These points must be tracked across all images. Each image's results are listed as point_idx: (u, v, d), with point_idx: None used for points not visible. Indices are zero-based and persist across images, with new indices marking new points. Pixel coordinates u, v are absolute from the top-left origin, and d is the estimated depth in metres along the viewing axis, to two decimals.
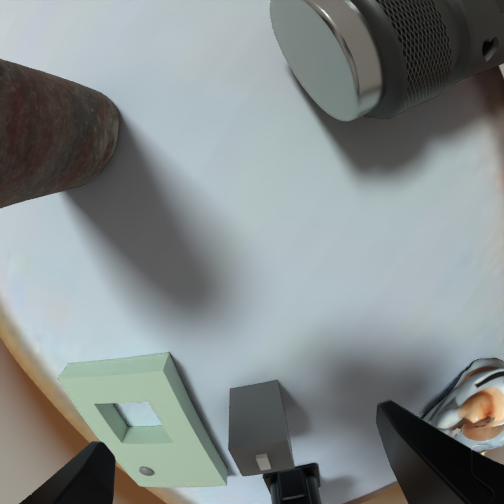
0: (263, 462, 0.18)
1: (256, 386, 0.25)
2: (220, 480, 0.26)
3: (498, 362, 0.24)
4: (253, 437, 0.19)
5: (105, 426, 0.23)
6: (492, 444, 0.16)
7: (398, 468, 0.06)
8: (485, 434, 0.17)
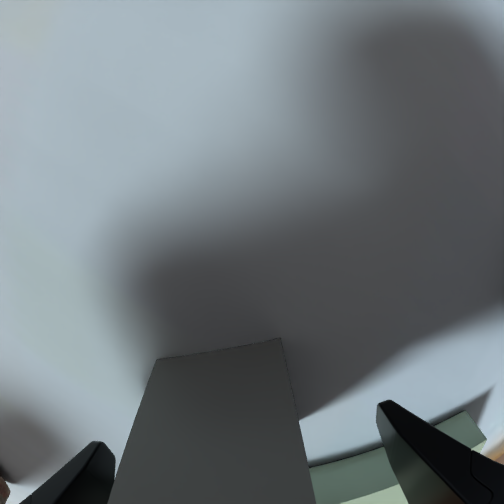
0: None
1: None
2: None
3: None
4: None
5: None
6: None
7: (398, 468, 0.06)
8: None
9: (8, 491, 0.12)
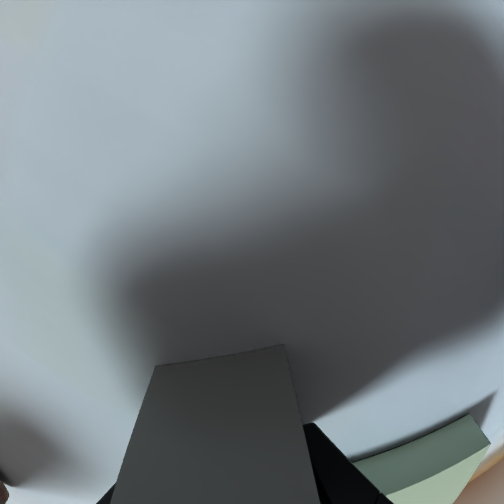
0: None
1: None
2: (469, 458, 0.09)
3: None
4: None
5: None
6: None
7: None
8: None
9: (7, 494, 0.12)
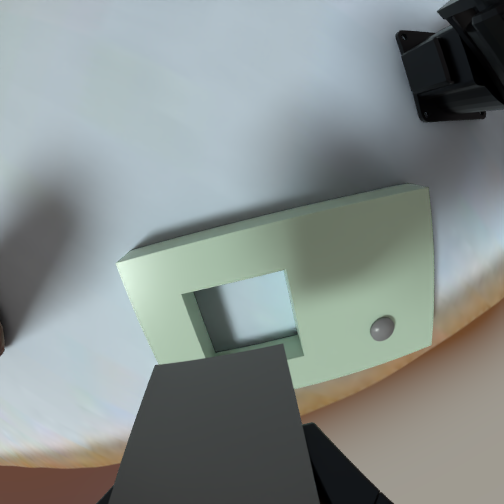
0: None
1: None
2: (411, 196, 0.15)
3: None
4: None
5: None
6: None
7: None
8: None
9: (2, 342, 0.18)
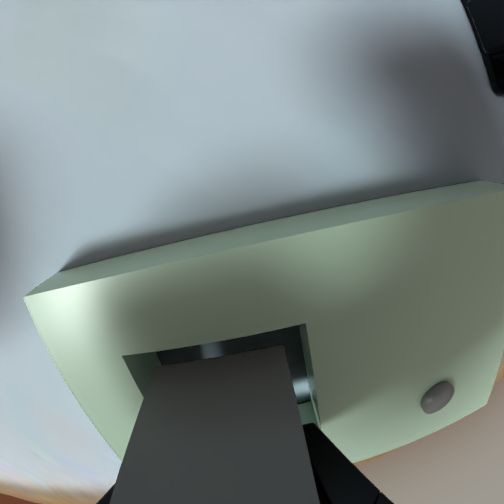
0: None
1: None
2: (502, 200, 0.08)
3: None
4: None
5: None
6: None
7: None
8: None
9: None
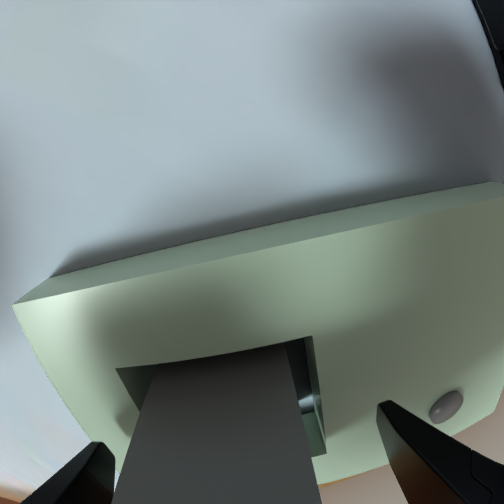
0: None
1: None
2: None
3: None
4: None
5: None
6: None
7: (398, 468, 0.06)
8: None
9: None
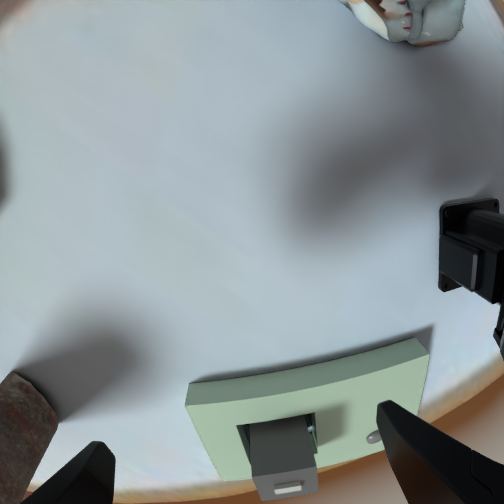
0: (284, 490, 0.16)
1: None
2: (414, 362, 0.19)
3: None
4: None
5: None
6: None
7: (398, 468, 0.06)
8: None
9: (57, 426, 0.21)
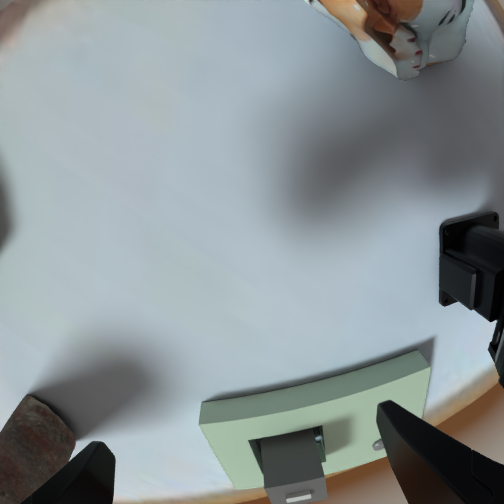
0: (295, 499, 0.16)
1: None
2: (416, 375, 0.19)
3: None
4: None
5: None
6: None
7: (398, 468, 0.06)
8: None
9: (74, 445, 0.22)
